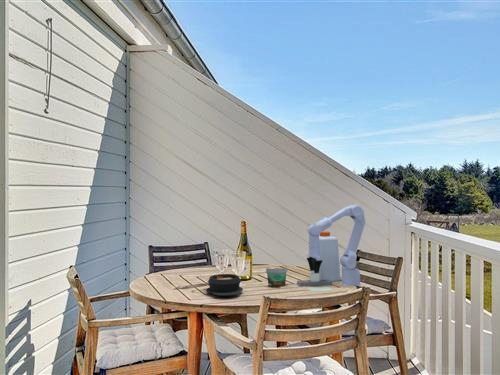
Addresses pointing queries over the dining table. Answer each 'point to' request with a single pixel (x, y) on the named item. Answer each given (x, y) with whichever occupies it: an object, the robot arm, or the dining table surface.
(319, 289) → the rubber mat
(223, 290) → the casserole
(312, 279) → the white rectangular block
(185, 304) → the dining table surface
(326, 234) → the plastic bottle
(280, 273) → the food container
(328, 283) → the grey slotted plate
